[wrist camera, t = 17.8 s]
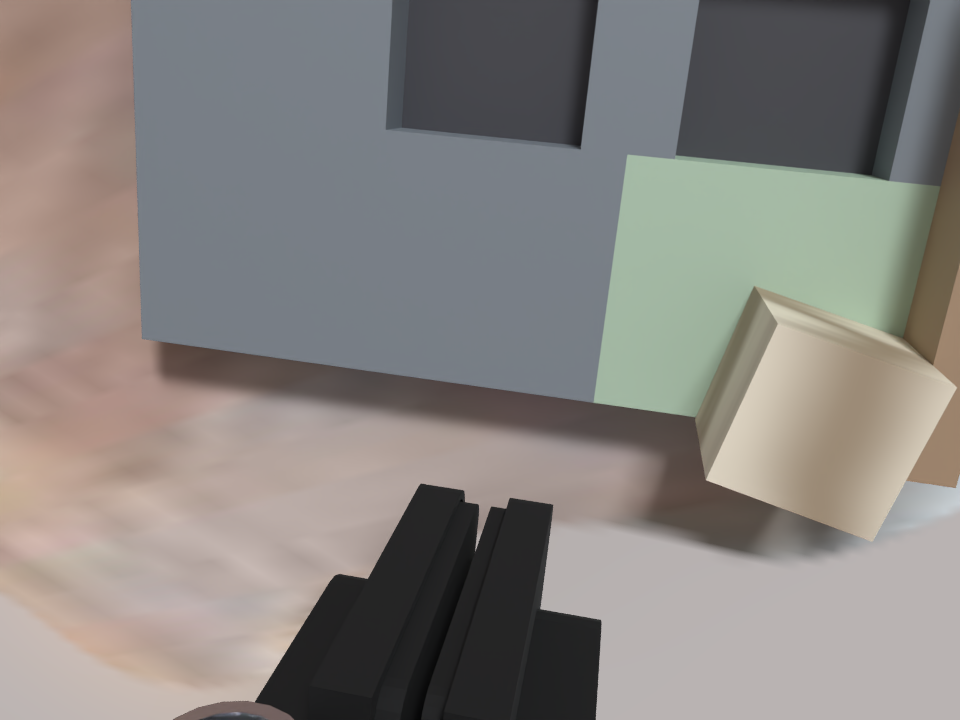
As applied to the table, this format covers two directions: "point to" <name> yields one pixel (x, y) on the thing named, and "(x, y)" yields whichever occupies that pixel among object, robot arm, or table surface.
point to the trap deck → (548, 185)
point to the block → (818, 413)
